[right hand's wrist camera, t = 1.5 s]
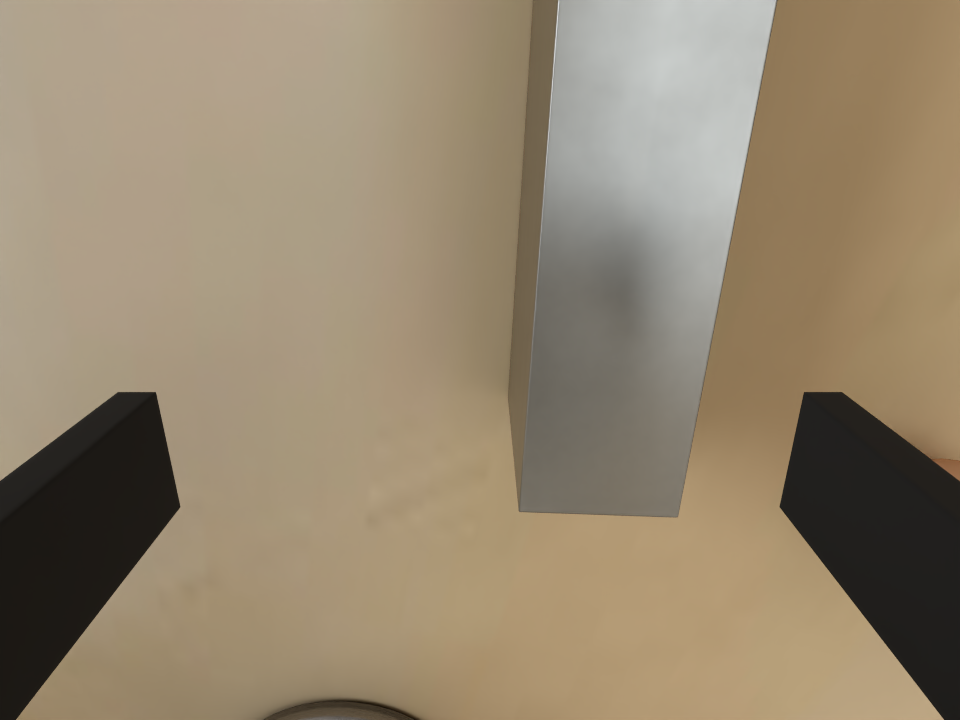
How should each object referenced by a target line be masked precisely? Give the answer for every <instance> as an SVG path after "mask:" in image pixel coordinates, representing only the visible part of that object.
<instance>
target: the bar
mask: <svg viewBox="0 0 960 720" xmlns="http://www.w3.org/2000/svg"><path fill="white" fill-rule="evenodd" d="M776 4H777V0H533V13H532V28H531V44H530V60H529V76H528V91H527V107H526V123H525V139H524V154H523V170H522V186H521V202H520V217H519V233H518V249H517V265H516V281H515V296H514V312H513V328H512V344H511V359H510V375H509V391H508V402H509V413H510V423H511V434H512V445H513V455H514V466H515V476H516V487H517V498H518V508H519V512H537V513H565V514H593V515H621V516H650V517H678V514H679V509H680V503H681V498H682V493H683V488H684V483H685V477H686V472H687V467H688V462H689V457H690V451H691V446H692V441H693V436H694V431H695V425H696V420H697V415H698V410H699V405H700V399H701V394H702V389H703V384H704V379H705V373H706V368H707V363H708V358H709V353H710V347H711V342H712V337H713V332H714V327H715V321H716V316H717V311H718V306H719V301H720V295H721V290H722V285H723V280H724V275H725V269H726V264H727V259H728V254H729V249H730V244H731V238H732V233H733V228H734V223H735V218H736V212H737V207H738V202H739V197H740V192H741V186H742V181H743V176H744V171H745V166H746V160H747V155H748V150H749V145H750V140H751V134H752V129H753V124H754V119H755V114H756V108H757V103H758V98H759V93H760V88H761V82H762V77H763V72H764V67H765V62H766V56H767V51H768V46H769V41H770V36H771V30H772V25H773V20H774V15H775V10H776Z"/></svg>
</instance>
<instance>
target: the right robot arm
mask: <svg viewBox="0 0 960 720" xmlns="http://www.w3.org/2000/svg"><path fill="white" fill-rule="evenodd" d="M179 508H180V503H179V498H178V494H177V489H176V484H175V479H174V475H173V470H172V465H171V461H170V456H169V451H168V447H167V442H166V437H165V433H164V428H163V423H162V419H161V414H160V409H159V405H158V400H157V395H156V392H118V393H116V394H115V395H114V396H112V397H111V398H110V399H108V400H107V401H106V402H104V403H103V404H102V405H100V406H99V407H98V408H96V409H95V410H94V411H93V412H91V413H90V414H89V415H87V416H86V417H85V418H83V419H82V420H81V421H79V422H78V423H77V424H75V425H74V426H73V427H71V428H70V429H69V430H67V431H66V432H65V433H63V434H62V435H61V436H59V437H58V438H57V439H55V440H54V441H53V442H51V443H50V444H49V445H47V446H46V447H45V448H43V449H42V450H41V451H39V452H38V453H37V454H35V455H34V456H33V457H31V458H30V459H29V460H27V461H26V462H25V463H23V464H22V465H21V466H19V467H18V468H17V469H16V470H14V471H13V472H12V473H10V474H9V475H8V476H6V477H5V478H4V479H2V480H1V481H0V720H16V719H17V717H18V716H19V715H20V714H21V712H22V711H23V710H24V708H25V707H26V706H27V705H28V703H29V702H30V701H31V699H32V698H33V697H34V696H35V694H36V693H37V692H38V690H39V689H40V688H41V686H42V685H43V684H44V683H45V681H46V680H47V679H48V677H49V676H50V675H51V674H52V672H53V671H54V670H55V668H56V667H57V666H58V664H59V663H60V662H61V661H62V659H63V658H64V657H65V655H66V654H67V653H68V652H69V650H70V649H71V648H72V646H73V645H74V644H75V643H76V641H77V640H78V639H79V637H80V636H81V635H82V633H83V632H84V631H85V630H86V628H87V627H88V626H89V624H90V623H91V622H92V621H93V619H94V618H95V617H96V615H97V614H98V613H99V611H100V610H101V609H102V608H103V606H104V605H105V604H106V602H107V601H108V600H109V599H110V597H111V596H112V595H113V593H114V592H115V591H116V590H117V588H118V587H119V586H120V584H121V583H122V582H123V580H124V579H125V578H126V577H127V575H128V574H129V573H130V571H131V570H132V569H133V568H134V566H135V565H136V564H137V562H138V561H139V560H140V558H141V557H142V556H143V555H144V553H145V552H146V551H147V549H148V548H149V547H150V546H151V544H152V543H153V542H154V540H155V539H156V538H157V537H158V535H159V534H160V533H161V531H162V530H163V529H164V527H165V526H166V525H167V524H168V522H169V521H170V520H171V518H172V517H173V516H174V515H175V513H176V512H177V511H178V509H179ZM780 508H781V509H782V511H783V512H784V513H785V515H786V516H787V517H788V518H789V520H790V521H791V522H792V524H793V525H794V526H795V527H796V529H797V530H798V531H799V533H800V534H801V535H802V537H803V538H804V539H805V540H806V542H807V543H808V544H809V546H810V547H811V548H812V549H813V551H814V552H815V553H816V555H817V556H818V557H819V558H820V560H821V561H822V562H823V564H824V565H825V566H826V568H827V569H828V570H829V571H830V573H831V574H832V575H833V577H834V578H835V579H836V580H837V582H838V583H839V584H840V586H841V587H842V588H843V590H844V591H845V592H846V593H847V595H848V596H849V597H850V599H851V600H852V601H853V602H854V604H855V605H856V606H857V608H858V609H859V610H860V611H861V613H862V614H863V615H864V617H865V618H866V619H867V621H868V622H869V623H870V624H871V626H872V627H873V628H874V630H875V631H876V632H877V633H878V635H879V636H880V637H881V639H882V640H883V641H884V643H885V644H886V645H887V646H888V648H889V649H890V650H891V652H892V653H893V654H894V655H895V657H896V658H897V659H898V661H899V662H900V663H901V664H902V666H903V667H904V668H905V670H906V671H907V672H908V674H909V675H910V676H911V677H912V679H913V680H914V681H915V683H916V684H917V685H918V686H919V688H920V689H921V690H922V692H923V693H924V694H925V696H926V697H927V698H928V699H929V701H930V702H931V703H932V705H933V706H934V707H935V708H936V710H937V711H938V712H939V714H940V715H941V716H942V717H943V719H944V720H960V481H959V480H958V479H956V478H955V477H954V476H952V475H951V474H950V473H948V472H947V471H946V470H944V469H943V468H942V467H941V466H939V465H938V464H937V463H935V462H934V461H933V460H931V459H930V458H929V457H927V456H926V455H925V454H923V453H922V452H921V451H919V450H918V449H917V448H915V447H914V446H913V445H911V444H910V443H909V442H907V441H906V440H905V439H903V438H902V437H901V436H899V435H898V434H897V433H895V432H894V431H893V430H891V429H890V428H889V427H887V426H886V425H885V424H883V423H882V422H881V421H879V420H878V419H877V418H875V417H874V416H873V415H871V414H870V413H869V412H867V411H866V410H865V409H864V408H862V407H861V406H860V405H858V404H857V403H856V402H854V401H853V400H852V399H850V398H849V397H848V396H846V395H845V394H844V393H842V392H804V395H803V400H802V405H801V409H800V414H799V419H798V423H797V428H796V433H795V437H794V442H793V447H792V451H791V456H790V461H789V465H788V470H787V475H786V479H785V484H784V489H783V494H782V498H781V503H780ZM264 720H414V719H412V718H410V717H408V716H406V715H403V714H401V713H398V712H395V711H393V710H390V709H386V708H383V707H379V706H374V705H369V704H363V703H356V702H342V701H340V702H317V703H311V704H305V705H300V706H296V707H292V708H289V709H286V710H283V711H281V712H278V713H276V714H273V715H271V716H269V717H268V718H266V719H264Z"/></svg>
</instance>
